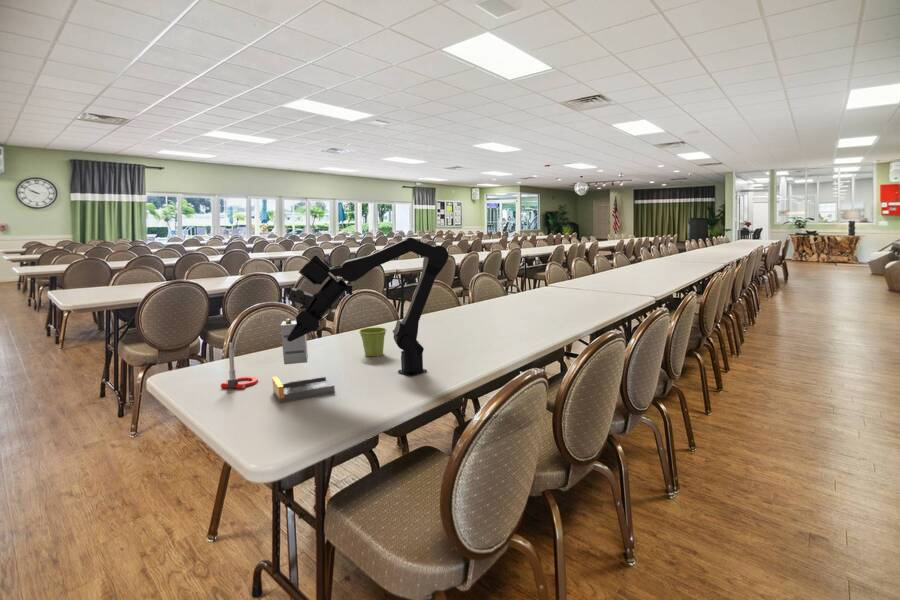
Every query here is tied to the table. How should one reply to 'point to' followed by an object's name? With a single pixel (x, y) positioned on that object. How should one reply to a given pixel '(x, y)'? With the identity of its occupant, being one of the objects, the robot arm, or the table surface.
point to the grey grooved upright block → (293, 345)
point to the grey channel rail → (301, 389)
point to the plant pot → (373, 340)
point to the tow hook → (233, 380)
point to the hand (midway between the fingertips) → (289, 338)
